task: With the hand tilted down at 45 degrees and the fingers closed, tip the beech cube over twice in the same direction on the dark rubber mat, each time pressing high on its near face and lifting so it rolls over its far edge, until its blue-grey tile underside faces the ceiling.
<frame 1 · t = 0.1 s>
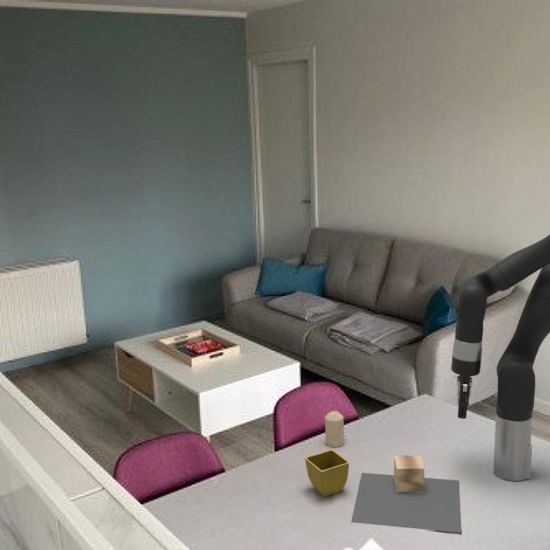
hand: (461, 411, 188), 17 cm above the table, tool pointing down, fingers open, 8 cm apart
flower pot: (327, 491, 184), on the table
cube: (408, 486, 184), resting on mat
mat: (407, 501, 178), on the table
candle: (334, 443, 210), on the table
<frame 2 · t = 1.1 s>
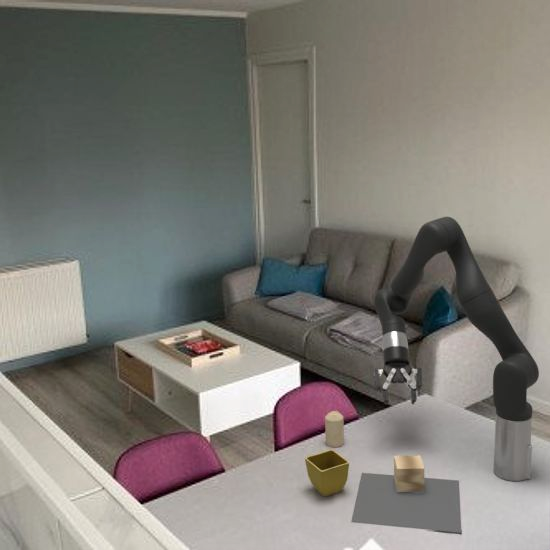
hand: (400, 403, 198), 16 cm above the table, tool tilted 45°, fingers open, 7 cm apart
nothing on the table moved.
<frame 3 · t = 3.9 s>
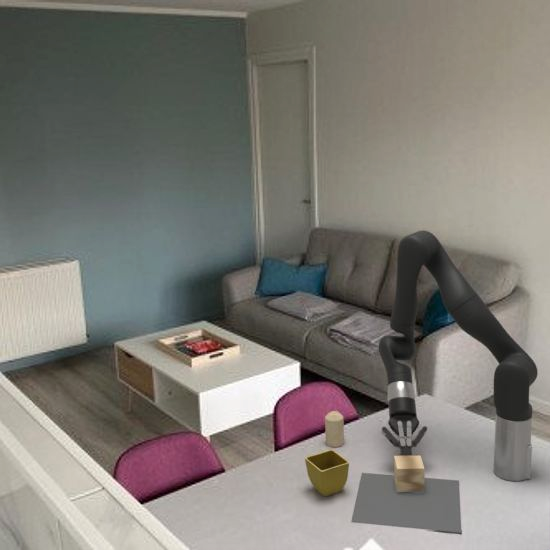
hand: (407, 461, 187), 5 cm above the table, tool tilted 45°, fingers closed
cube: (408, 486, 184), resting on mat, touching gripper
everything else where it was.
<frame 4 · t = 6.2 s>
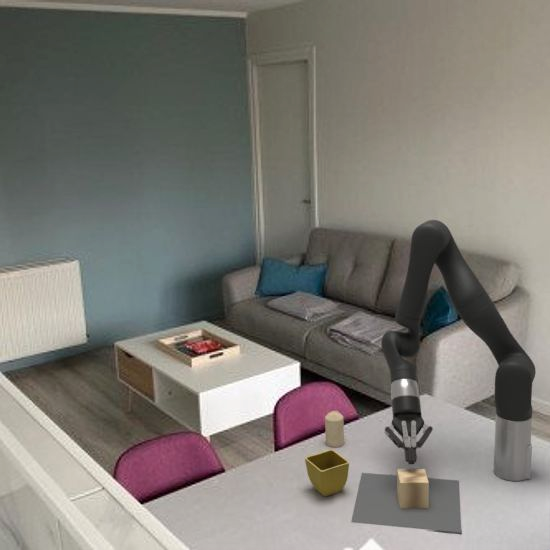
hand: (411, 463, 177), 10 cm above the table, tool tilted 45°, fingers closed
cube: (410, 480, 180), point 4 cm above the table, tilted 90°, touching mat
everything else where it was.
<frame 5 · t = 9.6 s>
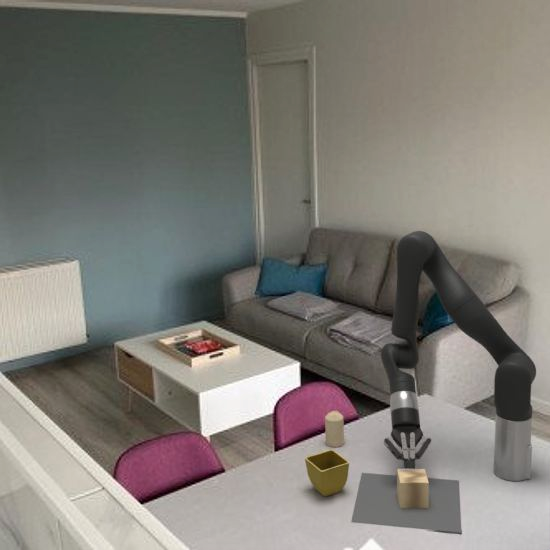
hand: (410, 474, 180), 5 cm above the table, tool tilted 45°, fingers closed
cube: (410, 480, 180), point 4 cm above the table, tilted 90°, touching gripper, mat
everything else where it was.
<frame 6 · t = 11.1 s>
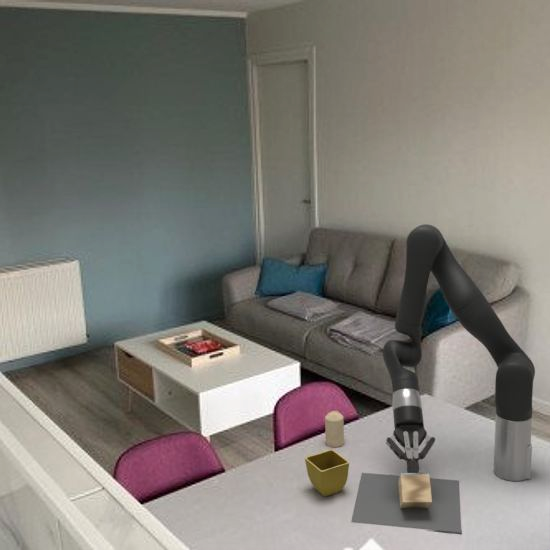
hand: (413, 475, 173), 9 cm above the table, tool tilted 45°, fingers closed
cube: (413, 476, 174), point 8 cm above the table, tilted 137°, touching gripper, mat
everything else where it was.
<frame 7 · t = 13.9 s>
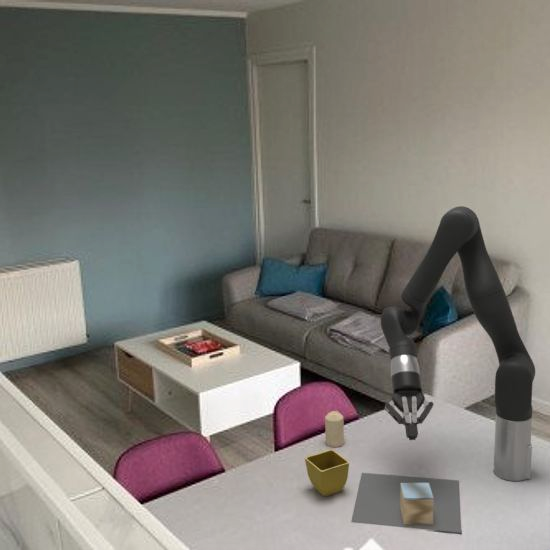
hand: (412, 439, 175), 17 cm above the table, tool tilted 45°, fingers closed
cube: (416, 490, 169), point 7 cm above the table, tilted 180°, touching mat
everything else where it was.
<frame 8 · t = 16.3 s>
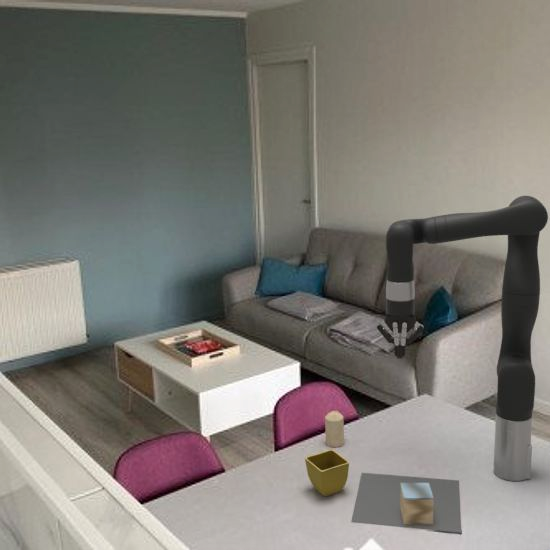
hand: (400, 357, 189), 32 cm above the table, tool pointing down, fingers closed
nothing on the table moved.
at the end: cube tilted 180°; cube inside the target area (0.9 cm from its centre), point 7.4 cm above the table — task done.
